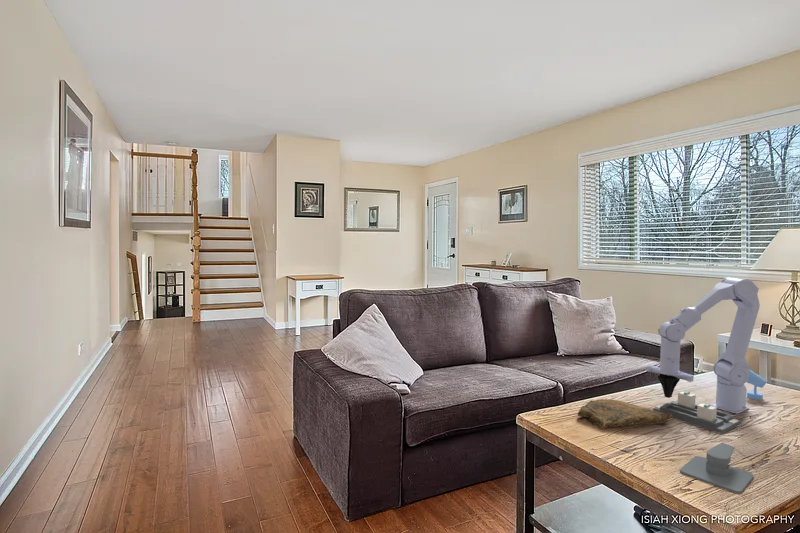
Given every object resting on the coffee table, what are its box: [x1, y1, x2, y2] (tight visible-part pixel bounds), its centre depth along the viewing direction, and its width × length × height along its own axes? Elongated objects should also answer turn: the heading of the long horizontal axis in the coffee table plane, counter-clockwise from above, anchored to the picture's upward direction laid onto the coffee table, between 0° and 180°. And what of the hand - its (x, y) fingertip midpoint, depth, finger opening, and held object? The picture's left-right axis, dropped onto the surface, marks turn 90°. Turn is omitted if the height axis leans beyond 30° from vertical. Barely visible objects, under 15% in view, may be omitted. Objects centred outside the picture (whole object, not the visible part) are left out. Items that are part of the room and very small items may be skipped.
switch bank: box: [652, 399, 742, 434], centre depth 145 cm, size 13×20×2 cm, turn 33°
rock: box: [576, 398, 672, 430], centre depth 142 cm, size 25×6×20 cm
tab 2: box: [697, 403, 718, 422], centre depth 139 cm, size 3×4×5 cm
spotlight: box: [746, 369, 767, 401], centre depth 164 cm, size 5×10×7 cm
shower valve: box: [679, 442, 754, 495], centre depth 111 cm, size 12×6×15 cm
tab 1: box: [677, 390, 696, 408], centre depth 150 cm, size 3×4×5 cm
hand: (668, 396), depth 155 cm, fingers closed
